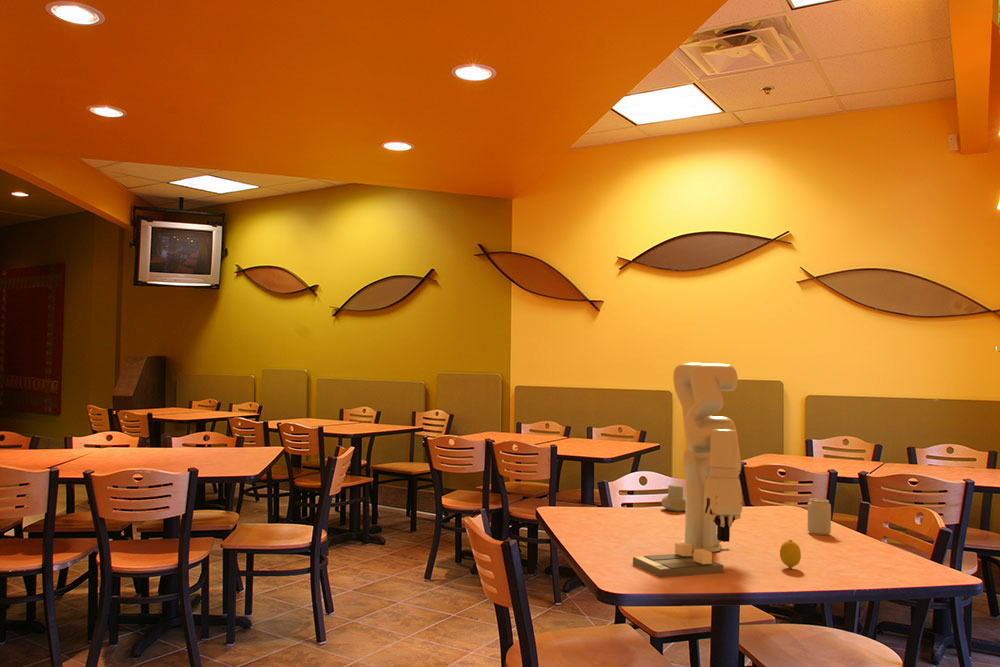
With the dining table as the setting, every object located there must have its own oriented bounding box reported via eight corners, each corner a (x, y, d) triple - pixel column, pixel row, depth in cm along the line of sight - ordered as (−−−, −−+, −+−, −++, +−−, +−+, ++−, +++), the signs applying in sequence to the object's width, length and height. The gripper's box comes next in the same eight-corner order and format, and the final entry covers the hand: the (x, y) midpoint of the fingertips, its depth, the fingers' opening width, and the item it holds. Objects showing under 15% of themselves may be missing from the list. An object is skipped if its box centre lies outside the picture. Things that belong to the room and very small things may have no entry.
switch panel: (692, 560, 216) (693, 552, 216) (723, 572, 203) (723, 564, 203) (632, 564, 209) (633, 556, 209) (660, 577, 196) (660, 568, 196)
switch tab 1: (683, 552, 214) (684, 541, 215) (692, 555, 211) (692, 545, 211) (674, 553, 213) (675, 542, 213) (683, 556, 210) (683, 545, 210)
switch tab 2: (702, 560, 206) (702, 549, 206) (711, 563, 202) (711, 552, 202) (693, 560, 205) (693, 549, 205) (702, 564, 201) (702, 552, 201)
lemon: (783, 565, 213) (783, 536, 214) (803, 568, 210) (803, 539, 210) (776, 568, 209) (777, 539, 210) (797, 572, 206) (797, 542, 206)
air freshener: (665, 512, 295) (665, 486, 295) (659, 508, 303) (659, 483, 304) (692, 512, 296) (692, 487, 296) (685, 508, 304) (685, 484, 304)
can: (827, 537, 255) (827, 501, 256) (804, 533, 260) (805, 499, 260) (833, 533, 261) (833, 499, 262) (810, 530, 266) (810, 496, 266)
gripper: (736, 472, 213) (736, 537, 211) (693, 472, 208) (692, 539, 206) (754, 475, 206) (754, 542, 204) (709, 475, 201) (709, 544, 199)
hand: (723, 540), depth 205 cm, fingers closed
